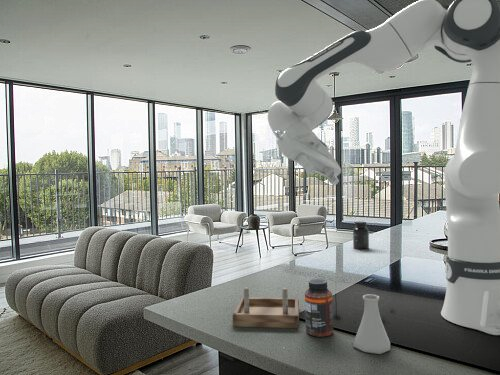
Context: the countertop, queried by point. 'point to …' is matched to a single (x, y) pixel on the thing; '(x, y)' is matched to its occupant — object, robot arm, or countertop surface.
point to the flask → (371, 328)
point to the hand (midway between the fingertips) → (323, 177)
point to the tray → (267, 311)
